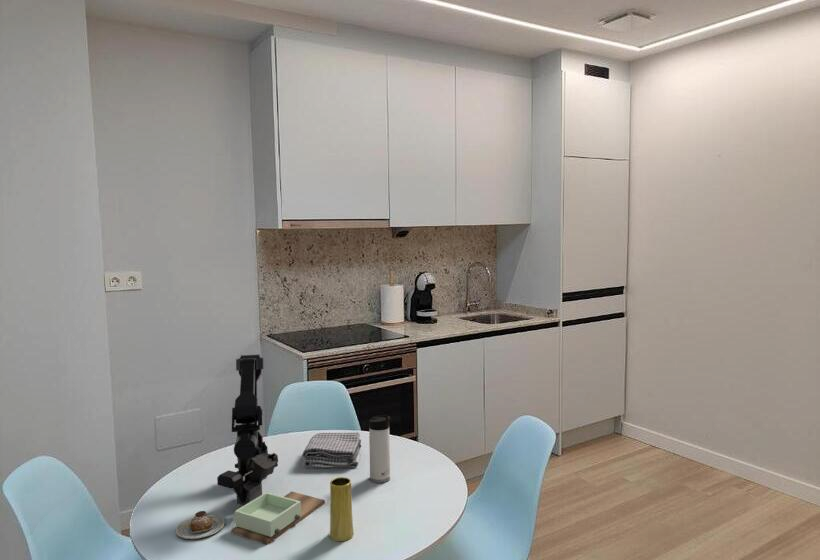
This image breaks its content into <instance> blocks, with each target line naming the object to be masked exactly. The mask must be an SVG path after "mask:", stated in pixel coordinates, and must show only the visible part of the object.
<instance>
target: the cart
mask: <svg viewBox="0 0 820 560" xmlns="http://www.w3.org/2000/svg"><path fill="white" fill-rule="evenodd" d="M300 516H301V501H297V500H294V499H290V498H286V497H284V496H282V495H278V494H274V493H270V492H264V493H262V495H261V496H259V497H258V498H256V499H254V500H253V501H251V502H249V503H248V504H246V505H244V506H243V505H242V506H241V507H239V508H237V509H236V510H235V511H234V524H235V527H236V526H237V527H241V528H244V529H247V530H250V531H253V532H257V533H260V534H263V535H266V536H269V537H272V536H273V535H275V534H279V533H280V530H282V529H283V528H284V527H286V526H287V525H289V524H290V523H292V522H293V521H294V520H296V519H297V520H299V519H300Z"/></svg>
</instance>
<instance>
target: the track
mask: <svg viewBox="0 0 820 560" xmlns="http://www.w3.org/2000/svg"><path fill="white" fill-rule="evenodd" d="M283 497H286V498H290V499H294V500H297V501H301V516H300V519H299V520H297V519H296V520H294V521H293V522H292V523H290V524H289V525H287V526H286V527H284V528H283V529H282V530H280V533H279V534H275V535H273V536H272V537H269V536H266V535H263V534H260V533H257V532H253V531H250V530H247V529H244V528H241V527H237V526H235V527H233V528H231V533H232V534H233V535H238V536H240V537H243V538H245V539H246V538H247V539H249V540H252V541H255V542H258V541H259V542H260V543H261V542H262V544H266V545H269V544H271V541H272V542H273V541H275V540H276V539H277V538H279V537H280V536H282V535H283V534H284V533H286V532H287V531H289V530H290V529H292V527H294V526H296V525H297V524H298V523H299V522H301V521H303V520H304V519H306V517H308V516H310V515H311V514H313V513H314V512H315V511H317V510H318V509H319V508H321V507H322V506H323V505H325V504H326V499H322V498H320V497H319V498H318V497H314V496H312V495H311V496H310V495H306V494H303V493H300V492H295V491H290V492H288V493H287V494H286V495H283ZM274 539H275V540H274Z"/></svg>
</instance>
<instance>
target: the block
mask: <svg viewBox="0 0 820 560" xmlns="http://www.w3.org/2000/svg"><path fill="white" fill-rule="evenodd" d="M261 495H263V483H262V482H261V483H258V482H254V481H250V480H248V483H247V485H246V486H245V502H244V503H242V502H241V501H240V499H239V498H238V496H237V495H236V504H237V505H241V506H242V507H243V506H244V505H246V504H248V503H249V502H251V501H253V500H254V499H256V498H258V497H259V496H261Z"/></svg>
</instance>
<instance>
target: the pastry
mask: <svg viewBox="0 0 820 560" xmlns="http://www.w3.org/2000/svg"><path fill="white" fill-rule="evenodd" d="M214 526H215V528H214ZM224 526H225V520H224V518H222V517H221V516H218V515H215V514H208V513H207V511H205V510H200V511H197V512H196V513H194V516H193V517H191V518H188V519H186V520H184V521H183V522H181V523H180V524H179V525H178V526H177V527H176V529H175V532H176V535H177V536H179V538H183V539H185V540H192V541H195V539H196V540H198V539H201V538H205V537H209V536H212V535H214V534H217V533H218V532H219V531H221V530H222V529H223V527H224ZM212 528H214V529H213V530H212V531H211V532H209V533H207V534H203V535H196V536H195V535H194V536H193V535H188V534H186V533H185V530H186V529H188V531H189V532H191V533H192V534H200V533H201V534H202V533H205V532H208V531H209V530H211V529H212Z"/></svg>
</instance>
